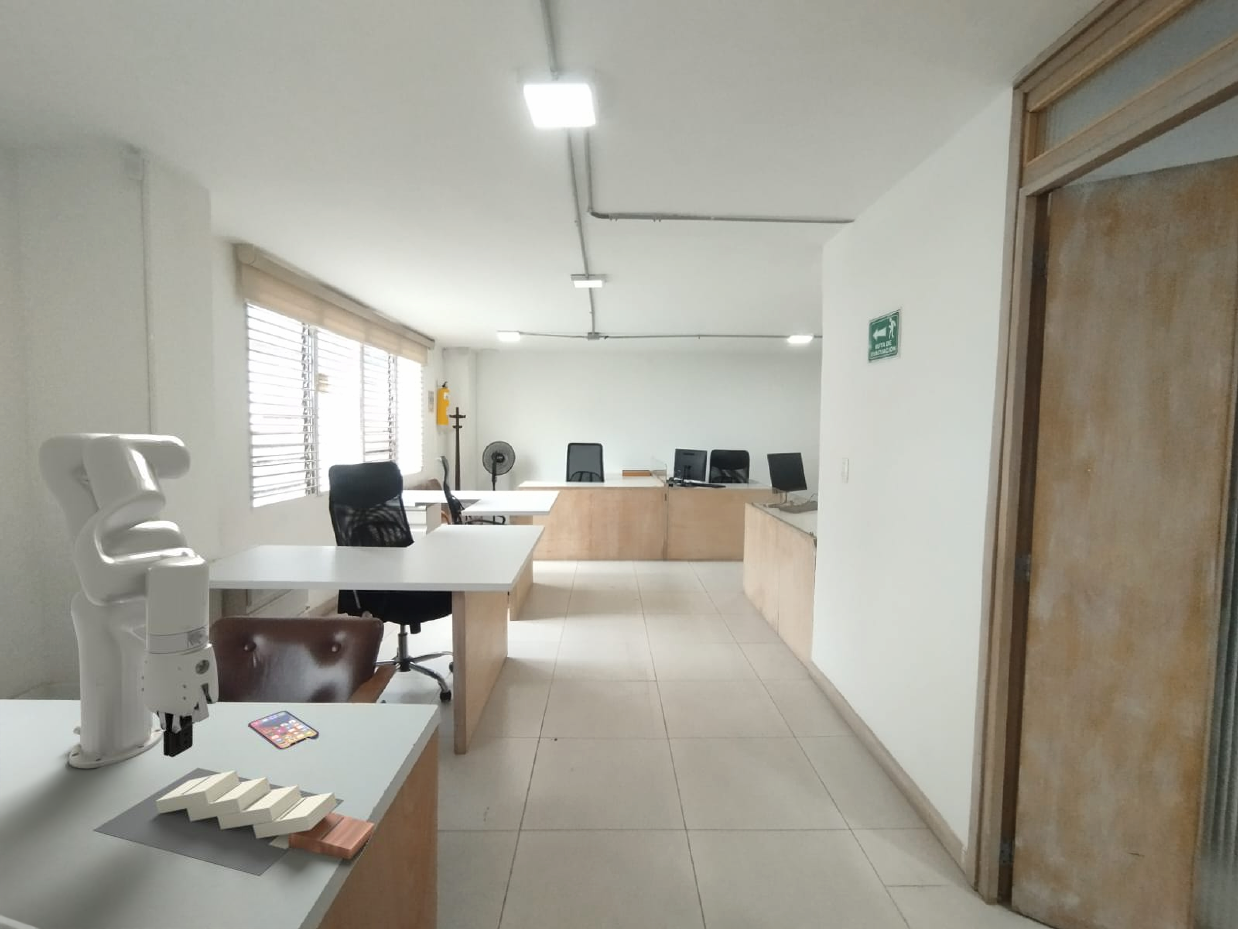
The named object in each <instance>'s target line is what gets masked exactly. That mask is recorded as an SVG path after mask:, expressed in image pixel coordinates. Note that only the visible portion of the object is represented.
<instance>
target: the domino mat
mask: <svg viewBox="0 0 1238 929" xmlns="http://www.w3.org/2000/svg"><path fill="white" fill-rule="evenodd" d="M221 773H222V772H219V771H214V770H209V769H205V768H200V767H197V768H195V769H194V770H192V771H190V772H188V773H186V774H185V775H183V776H181V777H180V778H178V779H176V780H175V781H173V782H172V783H169V784H168V785H167V786H164V787H162V788H161V789H160V790H158V791H156V792H155V793H153V794H150V796H148V797H146V798H144V799H143V800H141V801H140V802H138V803H137V804H134V805H133V806H131V807H129V808H128V809H126V810H125V811H123V812H121V813H120V814H118V815H116V816H114V817H113V818H110V820H108V821H106V822H104V823H103V824H101V825H99V826H98V827H96V828H95V829H93V830H92V831H94V832H98V833H102V834H105V835H109V836H112V837H116V838H119V839H124V840H127V841H130V842H131V841H132V842H134V843H138V844H141V845H145V846H148V847H153V848H156V849H159V850H160V849H161V850H162V851H163V850H164V851H166V852H171V853H175V854H178V855H182V856H185V857H188V858H189V857H190V858H193V859H197V860H201V861H204V862H208V863H212V864H215V865H219V866H223V867H226V868H230V869H233V870H238V871H241V872H244V873H249V874H251V875H256V876H261V875H263V874H264V873H265V872H266V871H267V870H268V869H270V868H271V866H273V865H274V864H275V863H276V862H278V860H279V859H281V858H282V857H283V856H284V855H285V854H286V853H287V852H288V851H290V850H291V849H292V847H291V846H289V833H288V834H282V835H276V836H270V837H263V838H256V835H255V831H254V828H253V825H254V824H252V825H245V826H239V827H233V828H226V829H221V828H220V824H219V820H218V817H217V816H215V817H210V818H205V819H200V820H195V821H190V818H189V815H188V811H187V808H185V809H180V810H175V811H170V812H165V813H160V814H159V811H158V807H157V804H156V801H157V800H158V799H160V798H162V797H163V796H165V795H166V794H168V793H170V792H171V791H173V790H174V789H176V788H178V787H179V786H181V785H183V784H184V783H186V782H187V781H189V780H193V779H198V778H202V777H207V776H212V775H216V774H221ZM238 778H239V783H241V782H245V781H250V780H252V779H250V778H247V777H246V778H245V777H241V776H238ZM269 785H270V790H274V789H280V788H285V787H286V786H282V785H277V784H273V783H269ZM299 790H300V793H301V797H302V798H305V797H311V796H316V795H320V794H318V793H315V792H314V793H313V792H309V791H304V790H301V789H299ZM335 799H336V802H337V806H336V807H335V808H334V809H333V810H332V811H334V810H335V809H336V808H337V807H338V806H340V804H342V802H344V801H345V800H344V799H340V798H336V797H335ZM332 811H330V812H332Z"/></svg>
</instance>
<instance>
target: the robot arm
mask: <svg viewBox="0 0 1238 929" xmlns="http://www.w3.org/2000/svg"><path fill="white" fill-rule="evenodd" d="M37 456H38V467H39V470H40V474H41V477H42V480H43V482H44V484H45V486H46V487H47V489H48V490H49V492H50V493H51V495H52V497H53V498H54V499H55V501H56V503H58V505H59V507H60V509H61V510H62V513H63V516H64V520H65V521H64V522H65V525H66V531H67V537H68V542H69V547H70V550H71V552H70V553H71V557H72V560H73V563H74V566H75V568H76V571H77V575H78V579H79V581H80V585H81V588H82V589H80V590H79V591H77V592H76V593H75V595H74V596H73V597H72V599H71V602H70V611H71V612H70V614H71V619H72V621H73V622H72V623H73V626H74V630H75V635H76V639H77V640H76V641H77V646H78V660H79V682H80V683H79V689H80V692H79V693H80V696H79V697H80V698H79V699H80V725H77V726H76V727H75V728H74V729H73V730H72V732H73V734H75V735H78V736H79V741H80V742H79V744H77V746H75V747H74V748H73V749H72V750H71V752H70V753H69V755H68V763H69V765H70V766H72V767H74V768H78V769H96V768H101V767H103V766H107V765H111V764H116V763H119V762H123V761H126V760H128V759H131V758H133V757H135V756H138V755H141V754H142V753H144V752H146V751H148V750H149V749H151V748H153V747H154V746H156V745H157V744H158V743H159V742H160V741H161V740H162V739H163V740H162V741H163V750H162V751H163V756H166V757H170V758H174V757H177V756H179V755H180V754H181V753H183V752H186V751H187V750H189V749H191V748H192V747H193V745H194V744H193V742H194V741H193V740H194V738H193V736H194V735H193V734H194V730H193V728H194V724H196V723H200V722H202V721H204V720H206V719H208V718H209V717H210V713H209V707H208V705H214V704H216V703H218V700H219V679H218V666H217V660H216V656H215V655H216V654H215V651H214V647H213V644H212V643H210V566H209V563H208V561H207V560H206V559H204V558H202V556H200V555H199V554H198V553H197V552H196V551H195V550H193V549H192V548H189V546H188V542H187V539H186V536H185V534H184V532H183V530H182V529H181V528H180V526H179V525H177V524H176V523H175V522H172V521H169V520H152V519H154V518H155V517H157V516H159V514H161V512H162V511H163V510H164V509H165V506H166V504H167V503H166V502H167V498H166V496H165V493H164V492H163V489H162V486H161V484H160V482H159V481H161V480H163V481H165V480H179V479H181V478H184V477H185V476H186V475H187V474H188V472H189V470H190V468H191V456H190V453H189V450H188V447H187V446H186V445H185V443H184V442H183V441H182V440H181V439H180V438H177V437H176V436H174V435H165V434H164V435H163V434H154V433H152V434H151V433H149V434H148V433H109V432H106V433H105V432H79V433H78V432H74V433H73V432H72V433H63V434H57V435H54V436H51V437H49V438H46V439H45V440H43V442H42V443H41V444H40V446H39V449H38V455H37ZM150 520H151V521H150ZM143 627H145V639H143V638H142V637H140V636H138V635H137V634H136V633H134V632H133V631H134V630H136V629H138V628H143ZM153 713H154V714H155V715H156V716H157V717H158V719H159V724H155V723H154V722H153V717H154V716H153Z"/></svg>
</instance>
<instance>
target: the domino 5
mask: <svg viewBox="0 0 1238 929" xmlns="http://www.w3.org/2000/svg"><path fill="white" fill-rule="evenodd" d="M374 833H375V823H373V822H368V821H365V820H361V819H358V818H354V817H351V816H346V815H343V814H340V813H339V814H338V813H335V812H332V811H331V812H329V813H328V814H327V815H326V816H325V817H324V818H323V819H322V820H321V821H319V822H318V823H317V824H316V825H315V826H314V827H313V828H312V829H311V830H306V831H300V832H294V833H289V846H291V848H294V849H298V850H299V849H300V850H302V851H303V850H304V851H309V852H312V853H317V854H322V855H327V856H331V857H336V858H340V859H341V858H342V859H345V860H352V859H353V857H354V856H355V855H356V854H357V853H358V851H360V849H361V848H362V847H363V846H364V845H365V843H366V842H367V841H368V840H369V839H370V838H371V837H372V836H373V835H374Z"/></svg>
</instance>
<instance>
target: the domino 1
mask: <svg viewBox="0 0 1238 929" xmlns="http://www.w3.org/2000/svg"><path fill="white" fill-rule="evenodd" d="M220 773H221V774H216V775H212V776H207V777H202V778H198V779H193V780H189V781H187V782H186V783H184V784H183V785H181V786H179V787H178V788H176V789H174V790H173V791H171V792H170V793H168V794H166V795H165V796H163V797H162V798H160V799H158V800H157V801H156V804H157V807H158V811H159V814H160V813H165V812H170V811H175V810H180V809H185V808H190V807H195V806H200V805H205V804H209V803H210V802H212V801H213V800H215V799H216V798H218V797H219V796H221V795H222V794H223V793H225V792H226V791H228V790H229V789H231V788H232V787H234V786H235V785H237V784H238V783H239V778H238V777H239V776H238V772H237V770H236V769H235V770H231V771H227V772H226V771H225V772H220Z"/></svg>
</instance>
